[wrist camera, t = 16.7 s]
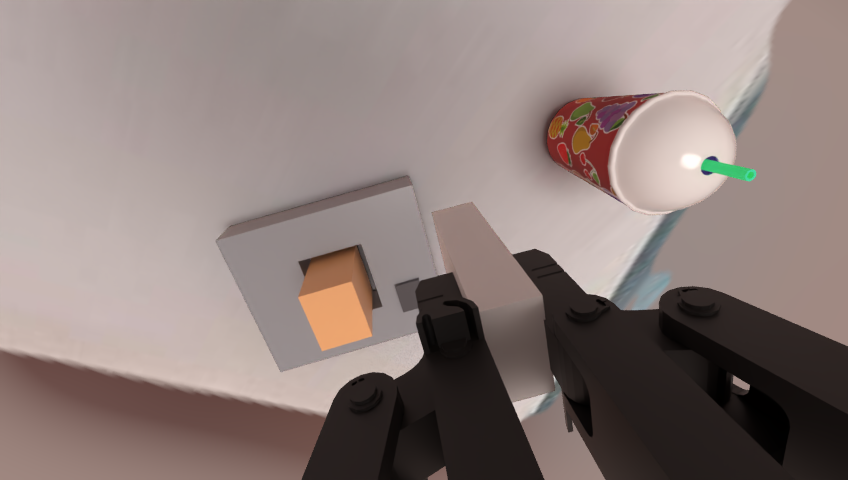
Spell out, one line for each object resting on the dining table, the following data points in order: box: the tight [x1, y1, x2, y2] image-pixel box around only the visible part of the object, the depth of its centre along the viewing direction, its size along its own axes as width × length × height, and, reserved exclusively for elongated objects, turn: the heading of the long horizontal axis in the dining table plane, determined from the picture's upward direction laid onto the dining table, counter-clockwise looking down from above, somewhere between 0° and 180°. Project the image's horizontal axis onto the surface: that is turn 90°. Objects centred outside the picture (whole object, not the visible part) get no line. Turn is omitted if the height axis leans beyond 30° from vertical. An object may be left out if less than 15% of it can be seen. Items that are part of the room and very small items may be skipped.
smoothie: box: [547, 91, 756, 215], centre depth 31 cm, size 8×8×20 cm
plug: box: [298, 245, 372, 351], centre depth 37 cm, size 5×4×10 cm
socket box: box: [216, 176, 437, 372], centre depth 40 cm, size 15×18×4 cm
